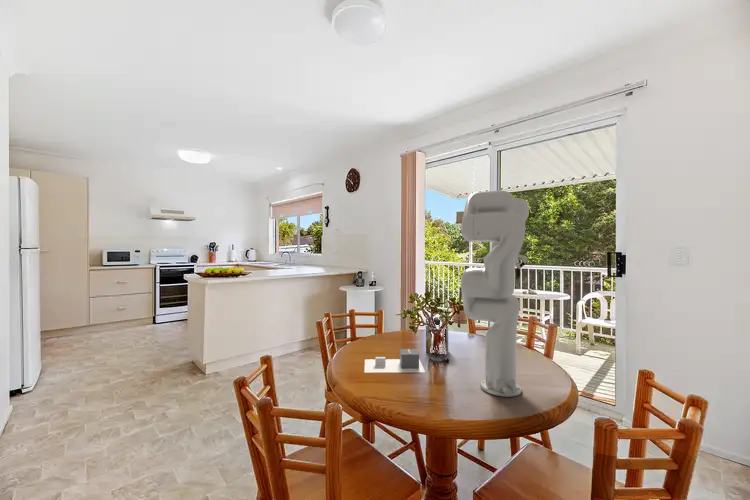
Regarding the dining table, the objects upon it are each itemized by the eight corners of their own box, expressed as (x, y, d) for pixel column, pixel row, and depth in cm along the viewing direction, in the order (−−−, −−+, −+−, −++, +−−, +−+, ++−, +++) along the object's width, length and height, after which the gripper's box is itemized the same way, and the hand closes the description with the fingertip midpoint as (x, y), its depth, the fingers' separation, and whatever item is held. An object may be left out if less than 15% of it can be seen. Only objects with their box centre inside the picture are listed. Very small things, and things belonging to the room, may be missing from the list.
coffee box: (449, 354, 145) (449, 317, 145) (446, 359, 139) (447, 320, 139) (428, 352, 149) (428, 316, 148) (425, 356, 142) (425, 319, 142)
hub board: (425, 376, 121) (425, 363, 121) (364, 376, 120) (364, 364, 120) (419, 362, 135) (419, 351, 135) (364, 363, 134) (364, 351, 134)
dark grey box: (419, 368, 124) (419, 354, 124) (401, 368, 124) (401, 354, 124) (416, 362, 131) (416, 348, 131) (399, 362, 131) (399, 348, 131)
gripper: (481, 235, 136) (480, 278, 136) (528, 235, 129) (527, 279, 129) (483, 236, 143) (483, 276, 143) (527, 236, 136) (527, 278, 136)
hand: (504, 278), depth 136 cm, fingers open, 9 cm apart
